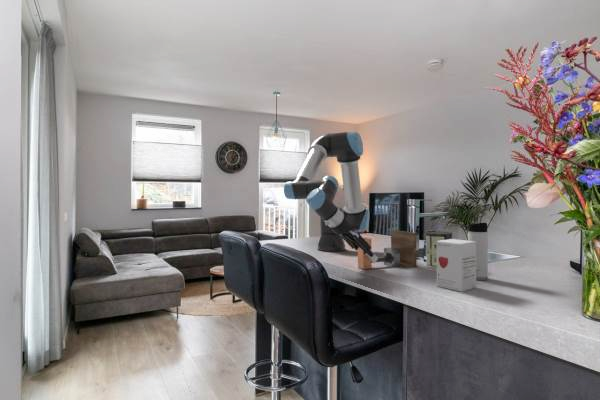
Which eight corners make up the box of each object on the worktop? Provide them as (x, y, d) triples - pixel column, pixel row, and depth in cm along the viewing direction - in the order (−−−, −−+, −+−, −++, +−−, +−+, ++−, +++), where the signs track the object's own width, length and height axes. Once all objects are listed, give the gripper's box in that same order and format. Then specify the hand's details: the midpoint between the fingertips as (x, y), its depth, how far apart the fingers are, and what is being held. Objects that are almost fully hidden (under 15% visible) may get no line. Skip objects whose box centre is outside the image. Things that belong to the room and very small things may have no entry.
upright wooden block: (363, 269, 145) (363, 239, 144) (357, 267, 148) (357, 238, 148) (390, 266, 150) (390, 237, 150) (385, 264, 154) (384, 236, 154)
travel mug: (476, 281, 124) (475, 223, 123) (464, 276, 130) (464, 221, 130) (492, 280, 125) (492, 222, 124) (480, 276, 131) (479, 221, 131)
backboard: (407, 267, 147) (406, 233, 147) (385, 262, 160) (385, 230, 160) (416, 266, 149) (416, 233, 149) (394, 261, 162) (394, 230, 162)
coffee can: (446, 263, 155) (446, 231, 154) (456, 268, 144) (456, 233, 144) (422, 264, 155) (422, 231, 155) (430, 269, 144) (430, 234, 144)
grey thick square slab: (394, 267, 149) (394, 250, 149) (384, 264, 155) (383, 248, 155) (400, 266, 150) (399, 249, 150) (389, 263, 156) (389, 247, 156)
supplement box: (435, 286, 117) (435, 240, 117) (451, 282, 123) (450, 238, 123) (461, 292, 110) (461, 243, 110) (477, 287, 115) (477, 240, 115)
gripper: (321, 226, 149) (355, 263, 156) (342, 230, 133) (379, 270, 140) (332, 213, 151) (365, 250, 158) (354, 215, 135) (390, 256, 142)
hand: (372, 259), depth 149 cm, fingers closed on upright wooden block, 4 cm apart
